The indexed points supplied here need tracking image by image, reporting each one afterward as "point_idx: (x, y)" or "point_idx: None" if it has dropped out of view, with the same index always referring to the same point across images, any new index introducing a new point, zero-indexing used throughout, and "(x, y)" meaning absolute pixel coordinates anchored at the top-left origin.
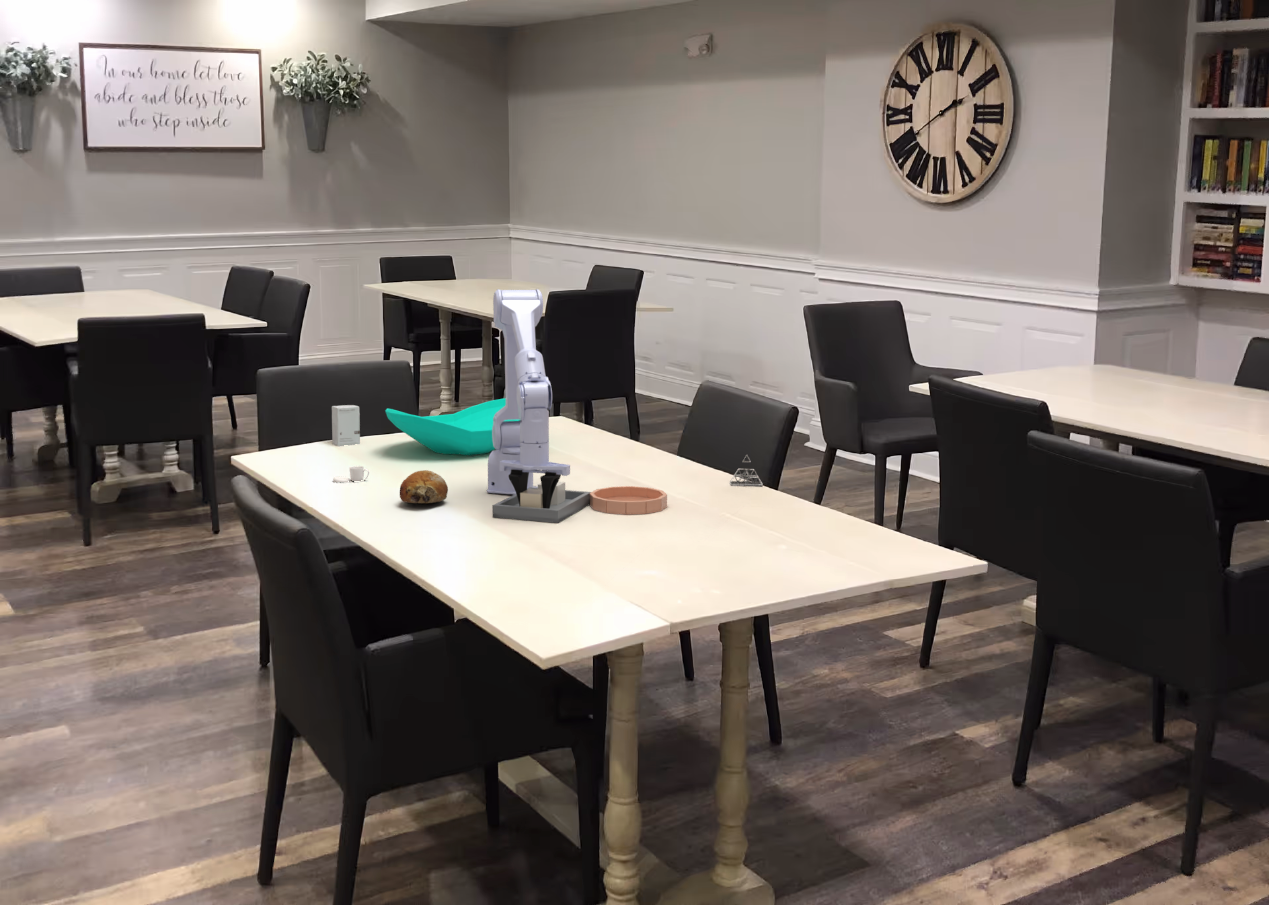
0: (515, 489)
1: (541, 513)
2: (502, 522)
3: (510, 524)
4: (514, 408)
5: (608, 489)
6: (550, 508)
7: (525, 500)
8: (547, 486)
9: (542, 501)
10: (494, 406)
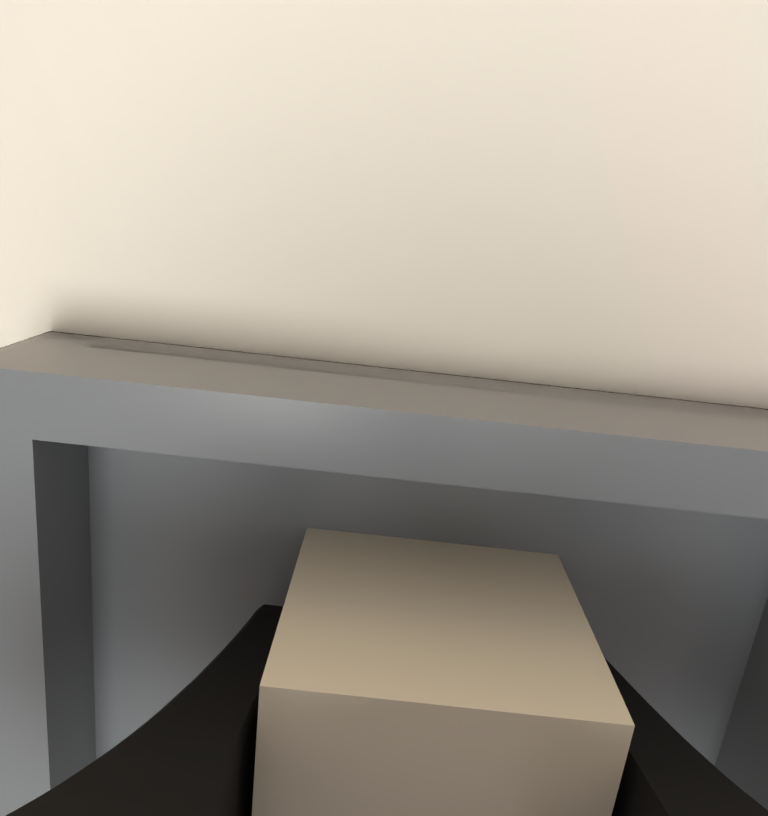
0: (752, 808)
1: (225, 374)
2: (689, 207)
3: (568, 125)
4: None
5: None
6: None
7: (518, 635)
8: (69, 810)
9: None
10: None
